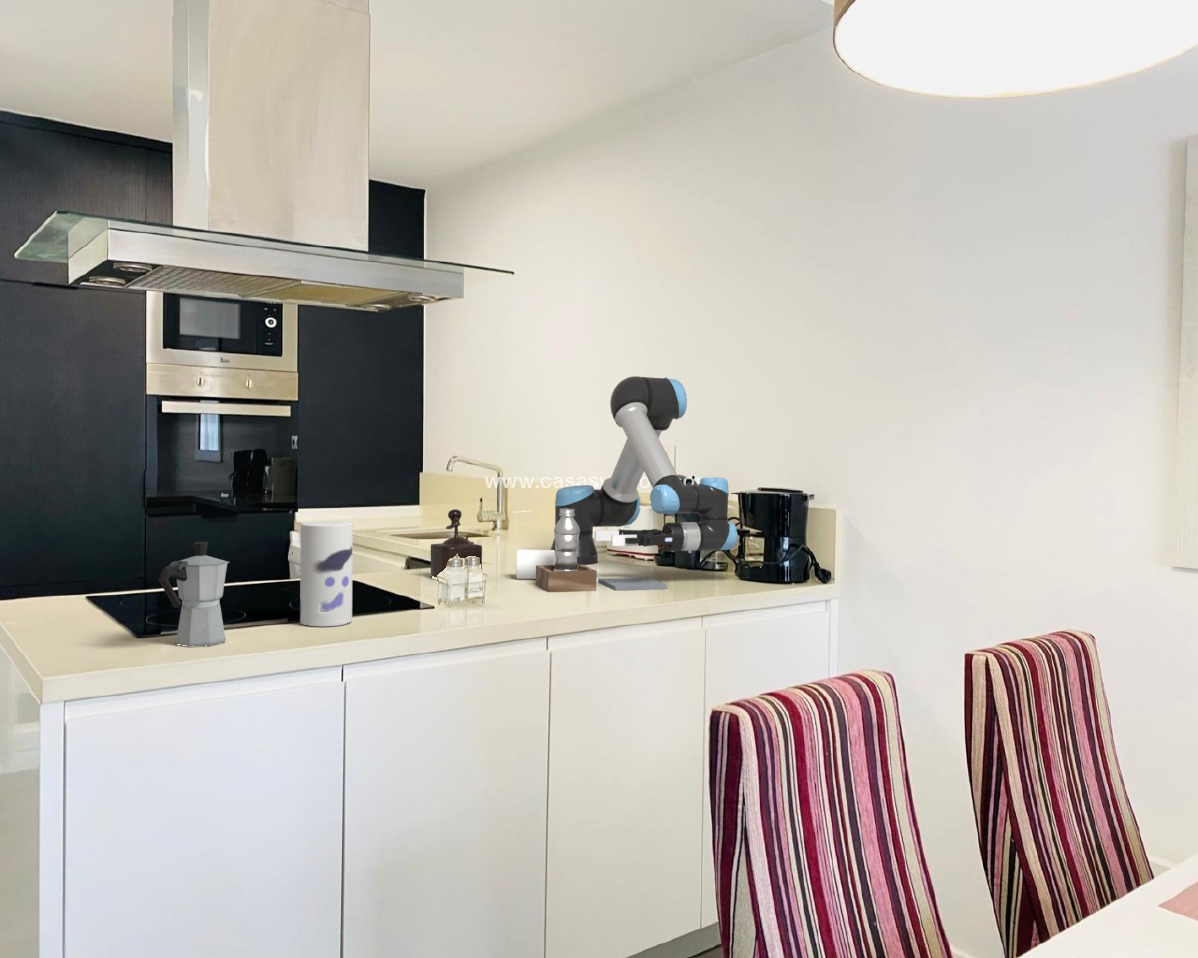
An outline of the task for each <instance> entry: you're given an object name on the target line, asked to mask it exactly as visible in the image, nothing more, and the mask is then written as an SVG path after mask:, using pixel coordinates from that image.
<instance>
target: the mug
mask: <svg viewBox="0 0 1198 958" xmlns="http://www.w3.org/2000/svg"><path fill="white" fill-rule="evenodd" d="M536 565H555V550H551V549H525V548H524V549H523V548H522V549H520V548H519V549H517V551H516V558H515V577H516V580H531V581H532V580H535V581H536Z"/></svg>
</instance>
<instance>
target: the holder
mask: <svg viewBox="0 0 1198 958" xmlns="http://www.w3.org/2000/svg"><path fill="white" fill-rule="evenodd" d="M554 566H555V565H536V580H535V585H536V586H537V587H539V588H541V589H542V590H544V591H545V592H547V593H560V592H561V593H562V592H564V593H565V592H566V593H568V592H592V591H594V592H595V591H597V574H598V573H597V572H598V571H597V570H596V569H594V568H592V567H589V566H586V564H577V569H578V570H576V571H554Z"/></svg>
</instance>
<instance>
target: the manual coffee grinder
mask: <svg viewBox="0 0 1198 958" xmlns="http://www.w3.org/2000/svg"><path fill="white" fill-rule="evenodd" d="M447 518H448V519H450V524H449V525H447V526H445V530H452V529H454V534H453V537H450V538H449V537H448V539H445V540H444V541H443V542H441V543H433V544H430V576H431V575H432V576H434V577H437V575H438V574H439V573H440V572H442V571H443V570H444V569H445V568H446V565H447V562H448V560H449V559H450V558H453V557H454V556H456V554H457V553H458V556H459V557H460V558H466V557H468V556H476V557H479V558H480V564H481V569H482V570H483V546H482V545H481V544H476V543H475V542H474V541H470V540H469V535H467V536H466V537H463V536H460V535H459V526H461V523H460V519H461V518H462V511H461V510H459V509H455V508H453V509H451V510H450V511H448V514H447Z"/></svg>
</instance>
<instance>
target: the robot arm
mask: <svg viewBox="0 0 1198 958" xmlns="http://www.w3.org/2000/svg"><path fill="white" fill-rule="evenodd" d="M609 402H610V412H611V415H612V418H613V419H614V422H615V424H616V425H617V426H618V427H620V428H622V430H623V433H624V434H625V436H626V441H625V443H624V446H623V448H622V450H621V453H620V455H619V458H618V460H617V462H616V465H615V467H614V469H613V471H612V474H611V476H610V477H607V478H606V479H605V480H604V481H603V483H602V485H601V488H600V489H599V488H598V489H594V486H593V485H590V484H581V485H570V486H565V487H561V488H559V489H558V490H556V492H555V500H554V501H555V502H554V505H555V506H554V509H555V510H554V511H555V513H554V518H555V519H554V526H555V525H556V524H557V522H558V521H559V520H560V517H561V516H559V514H560V509H574V514H575V516H574V520H575V521H576V523H577V524H578V526H579V529H580V533H579V539H578V546H577V564H582V565H587V564H588V565H590V564H596V563H598V562H599V555H598V554H599V553H598V551H597V547H596V544H595V543H596V542H610V543H611V544H610V545H611V547H631V546H632V547H633V546H635V547H637V546H638V547H641V546H642V547H645V548H646V547H652V546H658V547H659V546H662V548H663V549H664V551H666V552H679V551H682V552H687V553H688V554H692V553H693V552H692V551H694V552H695V551H697V552H700V551H704V552H705V551H706V552H707V551H713V552H714V551H716V552H717V551H719V552H720V551H725V550H726V551H728V550H731V549H734V547H735V546H736V545H737V542H738V538H739V537H738V535H739V534H738V532H737V531H738V530H737V526H736V525H735V523H734V522H731V521H729V517H728V510H729V507H728V506H729V496H730V493H729V492H730V491H729V482H728V479H726V478H725V477H712V476H711V477H701V478H700V480H699V484H683V482H682V480H681V479H680V477H679V474H678V473H677V471H676V469H675V467H674V464H673V463H672V462H671V460H670V459H671V458H669V456H668V453H667V452H666V450H665V447H664V446H663V444H662V443H661V440H660V436H661V434H662V432H665V431H667V430H668V429H669V428H670V426H671V424H672V422H673V420H678V419H681V418H683V416H684V415H685V414H686V412H687V408H688V407H687V406H688V397H687V393H686V389H685V387H684V385H683V383H682V382H680V381H679V380H678V379H675V378H668V377H663V378H662V377H649V376H647V377H646V376H637V375H636V376H635V375H634V376H629V377H626V378H624V379H622V380H621V381H620V382H619V383H618V384H617V385H616V386H615V387H614V388H613V391H612V393H611V397H610V401H609ZM644 474H645V475H646V477H647V479H648V481H649V483H650V486H651V487H652V489H651V491H650V493H649V500H650V507H651V509H652V510H653V511H654V512H655V513H656V514H661V515H677V514H678V515H679V514H680V515H681V514H683V515H684V514H698V516H699V521H698V522H696V521H695V522H694V521H690V522H689V521H683V522H682V521H681V522H680V523H679V522H665V523H664V524H663V526H662V529H657V528H652V529H642V530H641V529H620V527H625V526H629V525H632V524H633V523H634V522H636V520H637V519H638V517H639V515H640V512H641V507H640V506H641V497H640V495H639V490H638V489H637V488H638V486H639V483H640V481H641V479H642V477H643V475H644ZM601 527H602V528H605V527H607V528H608V527H611V528H612V527H613V528H614V527H616V528H618V527H619V529H617V530H616V529H613V530H612V529H611V530H607V529H605V530H594V528H601ZM593 530H594V532H593ZM593 533H594V534H593ZM550 550H555V557H556V549H555V537H554V538H553V541H552V544H551V547H550Z"/></svg>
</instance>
